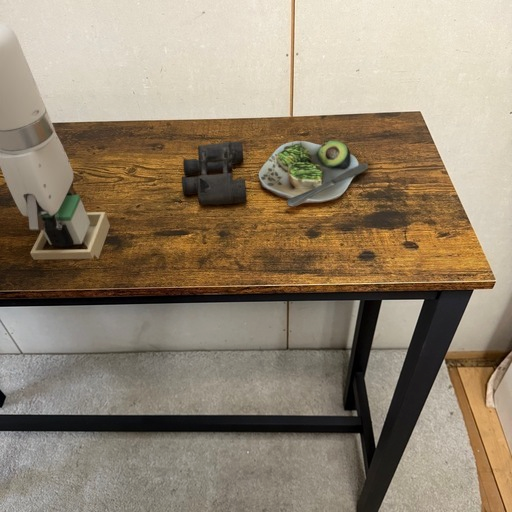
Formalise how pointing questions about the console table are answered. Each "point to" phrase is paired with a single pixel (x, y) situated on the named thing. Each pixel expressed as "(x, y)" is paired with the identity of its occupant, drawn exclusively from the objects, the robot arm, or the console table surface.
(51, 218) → the container
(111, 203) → the console table surface
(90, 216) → the tray
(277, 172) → the salad plate
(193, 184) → the binoculars
